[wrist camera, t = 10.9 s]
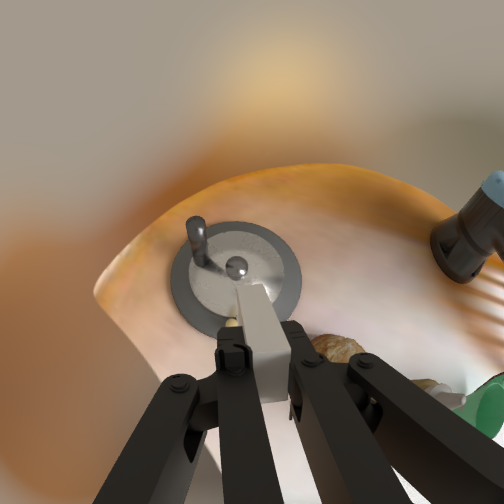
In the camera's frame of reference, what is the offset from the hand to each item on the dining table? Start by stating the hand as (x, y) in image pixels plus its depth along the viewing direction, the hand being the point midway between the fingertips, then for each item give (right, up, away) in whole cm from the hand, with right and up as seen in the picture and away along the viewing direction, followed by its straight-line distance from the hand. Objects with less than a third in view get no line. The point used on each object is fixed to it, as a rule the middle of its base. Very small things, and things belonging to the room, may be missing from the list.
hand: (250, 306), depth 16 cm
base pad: (-2, -1, +26) cm, 26 cm away
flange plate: (-2, -1, +25) cm, 25 cm away
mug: (+38, -25, +16) cm, 48 cm away
